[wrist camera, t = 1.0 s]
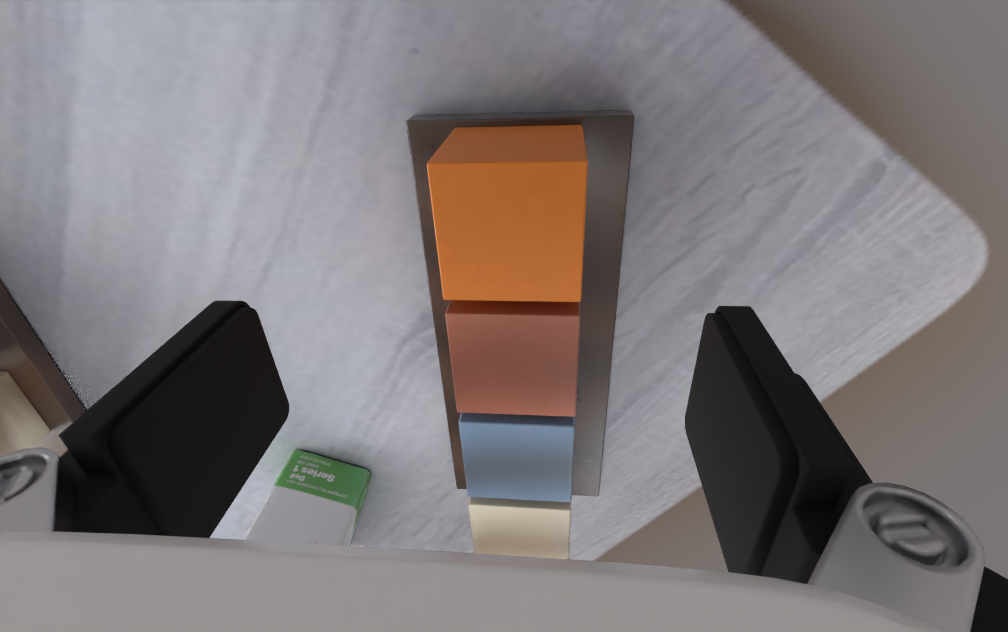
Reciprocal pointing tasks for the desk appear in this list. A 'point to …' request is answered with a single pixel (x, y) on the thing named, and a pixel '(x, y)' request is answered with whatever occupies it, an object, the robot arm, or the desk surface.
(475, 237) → the orange cube
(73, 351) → the desk surface
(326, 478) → the ink box
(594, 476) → the colored cube rack
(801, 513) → the robot arm
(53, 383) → the tray of colored blocks
